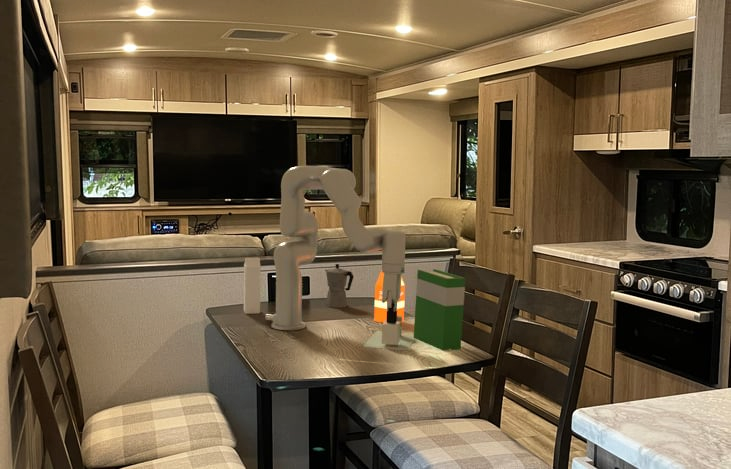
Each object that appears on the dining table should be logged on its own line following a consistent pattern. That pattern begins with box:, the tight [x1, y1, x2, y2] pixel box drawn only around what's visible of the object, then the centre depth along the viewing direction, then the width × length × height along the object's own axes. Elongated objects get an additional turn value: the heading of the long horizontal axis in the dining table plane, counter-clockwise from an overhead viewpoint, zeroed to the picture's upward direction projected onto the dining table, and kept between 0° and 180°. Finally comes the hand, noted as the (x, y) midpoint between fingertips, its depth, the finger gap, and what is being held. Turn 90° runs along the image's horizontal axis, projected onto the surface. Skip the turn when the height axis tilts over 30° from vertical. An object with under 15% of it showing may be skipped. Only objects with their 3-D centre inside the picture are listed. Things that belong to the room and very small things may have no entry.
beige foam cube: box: [381, 321, 400, 345], centre depth 226 cm, size 5×5×7 cm
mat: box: [362, 330, 416, 351], centre depth 233 cm, size 15×22×1 cm
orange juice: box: [373, 269, 406, 324], centre depth 261 cm, size 8×9×20 cm
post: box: [397, 316, 403, 337], centre depth 239 cm, size 3×3×7 cm
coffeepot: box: [325, 263, 354, 309], centre depth 288 cm, size 15×9×18 cm, turn 51°
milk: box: [243, 257, 262, 314], centre depth 272 cm, size 6×6×22 cm
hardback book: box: [413, 269, 466, 351], centre depth 231 cm, size 18×7×24 cm, turn 28°
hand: (391, 322), depth 226 cm, fingers closed
